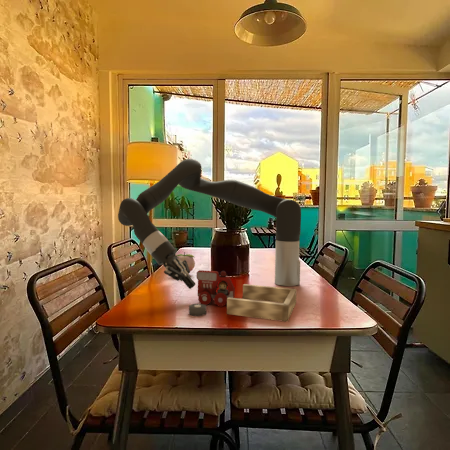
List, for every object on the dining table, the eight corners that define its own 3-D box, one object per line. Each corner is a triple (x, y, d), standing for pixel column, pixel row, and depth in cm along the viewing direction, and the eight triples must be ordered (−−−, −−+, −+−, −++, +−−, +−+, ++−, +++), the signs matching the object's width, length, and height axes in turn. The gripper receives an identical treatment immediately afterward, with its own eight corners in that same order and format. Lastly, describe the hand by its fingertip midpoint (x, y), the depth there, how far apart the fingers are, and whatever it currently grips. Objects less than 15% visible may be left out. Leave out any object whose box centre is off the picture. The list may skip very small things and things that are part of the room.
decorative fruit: (195, 272, 151) (195, 250, 151) (194, 276, 143) (194, 253, 142) (174, 272, 151) (174, 250, 150) (172, 276, 143) (172, 253, 142)
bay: (226, 314, 97) (227, 298, 96) (243, 297, 114) (244, 284, 113) (287, 321, 91) (288, 305, 91) (296, 302, 108) (296, 289, 108)
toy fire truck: (232, 307, 103) (232, 274, 102) (193, 304, 105) (193, 272, 105) (236, 300, 110) (236, 269, 109) (199, 298, 112) (199, 267, 111)
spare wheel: (206, 310, 100) (206, 303, 100) (205, 316, 95) (205, 308, 95) (189, 310, 100) (189, 303, 100) (188, 316, 95) (188, 308, 95)
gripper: (162, 251, 120) (193, 288, 117) (141, 258, 107) (176, 299, 104) (175, 237, 118) (208, 275, 115) (156, 242, 105) (191, 284, 102)
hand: (192, 286), depth 109 cm, fingers closed
